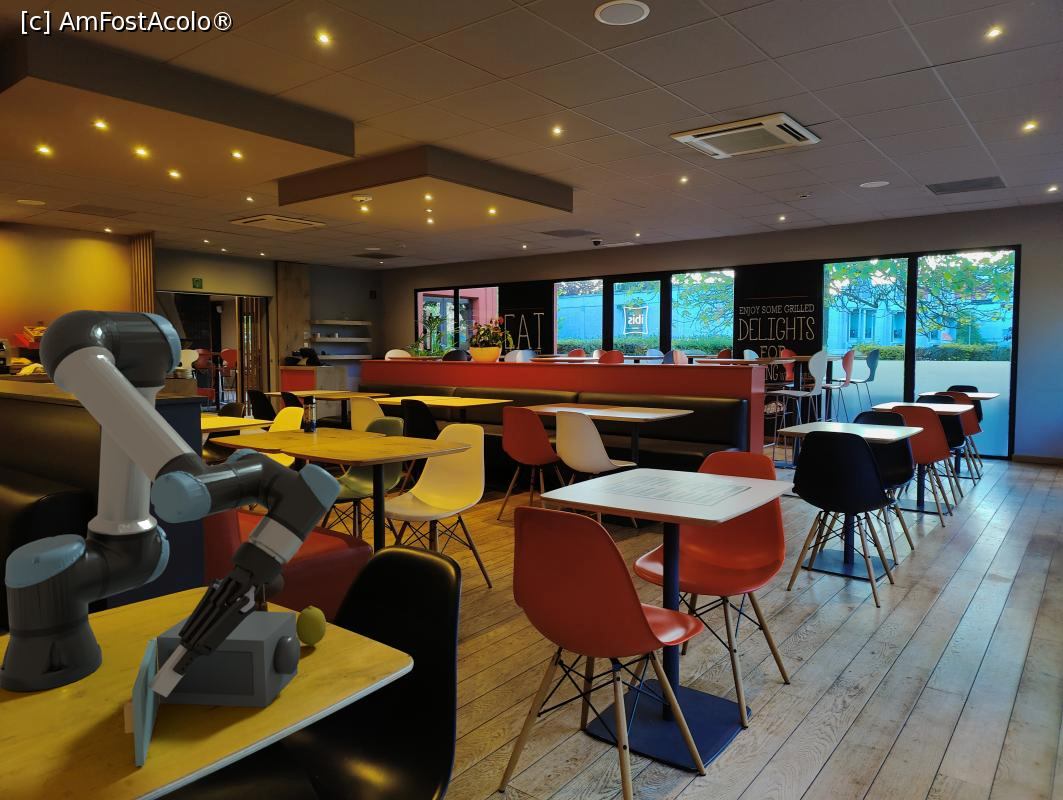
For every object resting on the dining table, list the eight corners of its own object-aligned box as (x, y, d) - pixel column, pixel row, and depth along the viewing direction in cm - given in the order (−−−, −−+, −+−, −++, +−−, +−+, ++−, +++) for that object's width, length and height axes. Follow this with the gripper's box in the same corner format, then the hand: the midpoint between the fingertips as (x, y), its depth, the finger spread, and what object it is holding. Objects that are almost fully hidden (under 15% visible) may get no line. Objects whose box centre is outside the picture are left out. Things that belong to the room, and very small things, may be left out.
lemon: (318, 638, 140) (316, 598, 140) (331, 646, 136) (330, 606, 136) (291, 646, 136) (290, 606, 136) (305, 655, 132) (303, 613, 132)
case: (158, 703, 115) (155, 637, 114) (200, 669, 127) (198, 609, 126) (277, 708, 113) (274, 641, 112) (308, 673, 125) (306, 612, 124)
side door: (144, 704, 114) (141, 640, 113) (159, 702, 115) (156, 637, 114) (125, 768, 96) (121, 692, 96) (144, 764, 97) (140, 689, 96)
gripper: (301, 574, 109) (193, 719, 99) (264, 556, 119) (162, 687, 108) (267, 547, 105) (150, 696, 95) (231, 531, 114) (121, 665, 104)
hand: (157, 691), depth 101 cm, fingers closed
